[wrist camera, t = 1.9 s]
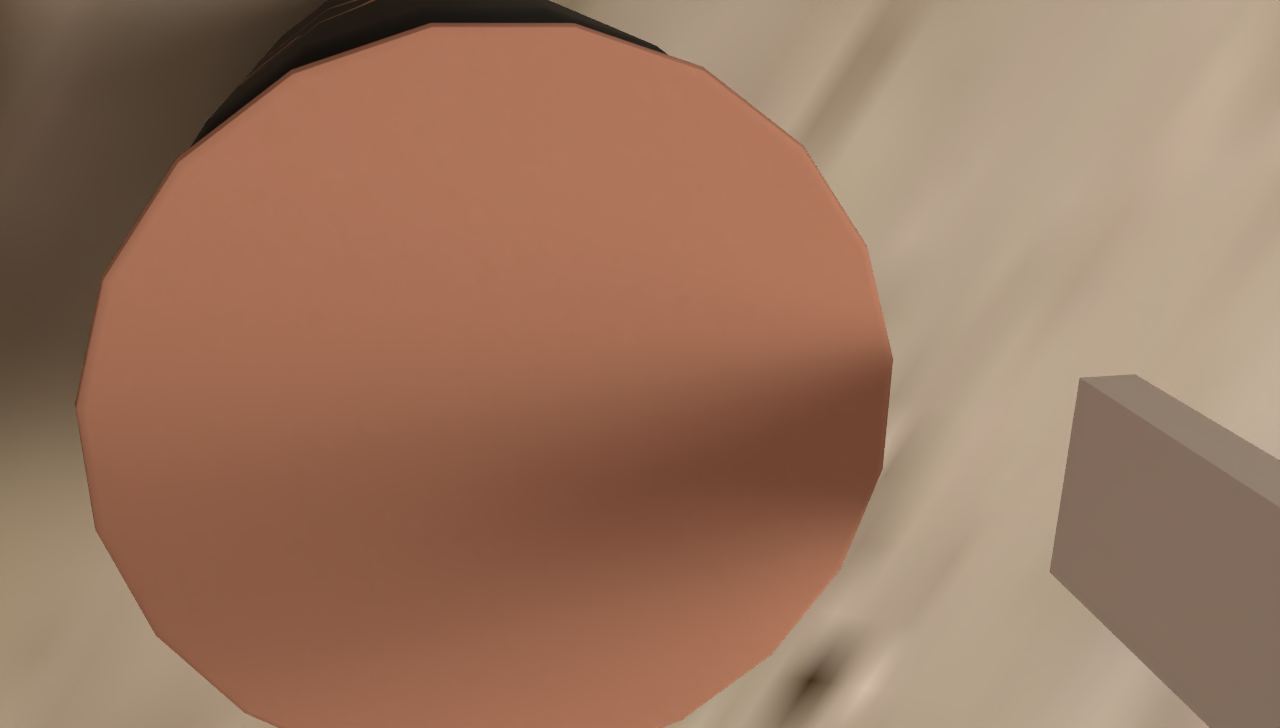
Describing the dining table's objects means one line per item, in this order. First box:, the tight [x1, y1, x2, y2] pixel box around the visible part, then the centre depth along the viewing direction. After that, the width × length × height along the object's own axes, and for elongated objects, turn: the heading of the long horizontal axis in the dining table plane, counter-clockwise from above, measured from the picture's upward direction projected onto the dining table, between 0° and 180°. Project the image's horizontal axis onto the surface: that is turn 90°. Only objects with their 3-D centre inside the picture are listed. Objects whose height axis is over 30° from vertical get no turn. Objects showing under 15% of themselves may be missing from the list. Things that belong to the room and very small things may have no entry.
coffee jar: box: [75, 0, 893, 728], centre depth 24 cm, size 11×11×18 cm
